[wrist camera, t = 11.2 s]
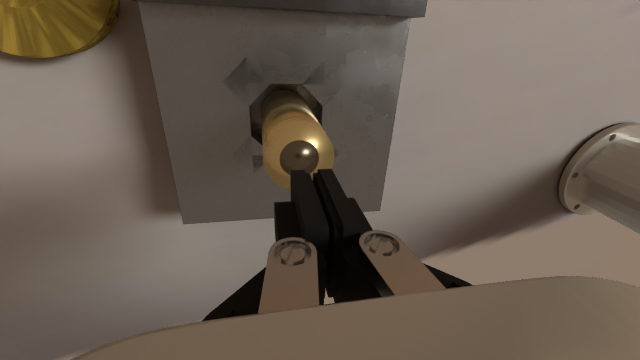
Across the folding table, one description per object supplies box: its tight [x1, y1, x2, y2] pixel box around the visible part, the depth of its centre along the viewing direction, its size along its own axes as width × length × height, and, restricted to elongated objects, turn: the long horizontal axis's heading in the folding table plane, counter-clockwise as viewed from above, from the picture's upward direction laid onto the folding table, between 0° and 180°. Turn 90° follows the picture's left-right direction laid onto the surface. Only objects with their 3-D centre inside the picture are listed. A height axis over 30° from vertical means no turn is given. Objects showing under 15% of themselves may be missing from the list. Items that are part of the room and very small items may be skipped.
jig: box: [133, 0, 427, 224], centre depth 24 cm, size 18×18×6 cm
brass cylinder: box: [261, 90, 334, 190], centre depth 21 cm, size 4×4×10 cm
